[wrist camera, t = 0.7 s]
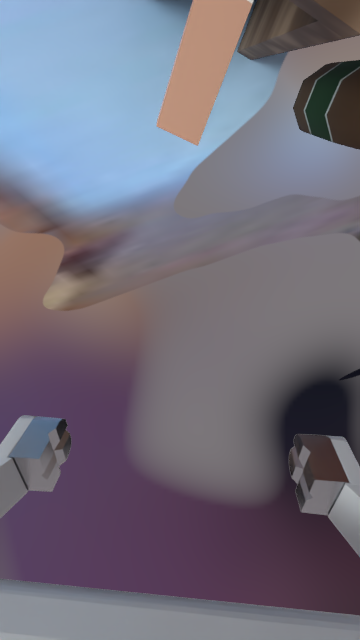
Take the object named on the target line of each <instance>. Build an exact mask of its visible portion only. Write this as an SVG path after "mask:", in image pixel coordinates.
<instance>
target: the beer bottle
mask: <svg viewBox="0 0 360 640" xmlns="http://www.w3.org/2000/svg"><path fill="white" fill-rule="evenodd" d="M293 109H294V112H295V116H296V119H297V122H298V126H299V129H300V130H302V131H304V132H306V133H309V134H312V135H314V136H317V137H320V138H323V139H325V140H328V141H331V142H334V143H337V144H341V145H345V146H348V147H352V148H356V149H360V60H356V61H347V62H337V63H330V64H327V65H325V66H323V67H322V68H320V69H319V70H318V71H317V72H315V73H313V74H312V75H311V76H309V77H308V78H306V79H305V80H304V81H303V83H302V86H301V88H300V91H299V93H298V96H297V99H296V101H295V104H294V107H293Z"/></svg>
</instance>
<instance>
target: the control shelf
mask: <svg viewBox="0 0 360 640" xmlns="http://www.w3.org/2000/svg"><path fill="white" fill-rule="evenodd" d="M359 35H360V0H257V2H256V5H255V7H254V10H253V13H252V15H251V18H250V20H249V23H248V25H247V28H246V30H245V33H244V36H243V38H242V41H241V43H240V46H239V48H238V51H237V52H239V53H240V54H242V55H244V56H245V57H247V58H249V59H250V60H253V59H257V58H262V57H266V56H271V55H275V54H279V53H284V52H288V51H292V50H297V49H301V48H306V47H310V46H315V45H319V44H323V43H328V42H332V41H336V40H341V39H345V38H350V37H354V36H359Z"/></svg>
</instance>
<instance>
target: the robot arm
mask: <svg viewBox="0 0 360 640" xmlns="http://www.w3.org/2000/svg"><path fill="white" fill-rule="evenodd" d="M67 426H68V425H67V422H66V419H59V418H48V417H38V416H25V415H23V416H22V417H20V418H19V419H18V420H17V422H16V423H15V425H14V426H13V428H12V429H11V430H10V432H9V433H8V435H7V436H6V437H5V439H4V440H3V442H2V443H1V445H0V518H1V517H2V516H3V515H4V514H5V513H6V512H7V511H8V510H10V509H11V508H12V507H13V506H14V505H15V504H16V503H17V502H18V501H19V500H20V499H21V498H22V497H23V496H24V495H25V494H26V493H27V492H28V491H27V490H31V491H51V492H52V491H53V489H54V486H55V484H56V482H57V480H58V477H59V475H60V473H61V472H60V468H59V466H60V465H61V464H63V463H64V462H65V461H66V459H67V457H68V455H69V452H70V448H71V436H70V433H69V432H68V431H66V427H67ZM293 441H294V444H295V447H293V448H291V450H290V454H289V467H290V473H291V477H292V478H293V480H294V481H295V482H296V483H297V484H298V485H297V488H296V490H295V492H296V496H297V499H298V503H299V506H300V510H301V512H304V513H313V514H322V515H328V517H329V519H330V520H331V521H332V522H333V524H334V525H335V526H336V528H337V529H338V530H339V531H340V533H341V534H342V535H343V536H344V538H345V539H346V540H347V541H348V543H349V544H350V545H351V546H352V548H353V549H354V550H355V552H356V553H357V554H358V555H359V557H360V467H359V465H358V463H357V461H356V459H355V457H354V455H353V453H352V451H351V449H350V447H349V445H348V443H347V441H346V439H345V438H343V437H337V436H326V435H307V434H297V435H296V436H295V438H294V440H293ZM0 640H360V616H357V615H347V614H338V613H328V612H318V611H308V610H299V609H290V608H280V607H270V606H260V605H250V604H241V603H230V602H221V601H212V600H202V599H192V598H182V597H173V596H162V595H153V594H143V593H134V592H124V591H114V590H104V589H95V588H85V587H75V586H65V585H56V584H46V583H35V582H26V581H16V580H7V579H0Z"/></svg>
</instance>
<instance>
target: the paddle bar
mask: <svg viewBox="0 0 360 640" xmlns="http://www.w3.org/2000/svg"><path fill="white" fill-rule="evenodd" d="M253 1H254V0H193V1H192V5H191V8H190V11H189V15H188V18H187V22H186V25H185V28H184V32H183V35H182V38H181V42H180V45H179V49H178V52H177V55H176V59H175V62H174V65H173V69H172V72H171V76H170V79H169V82H168V86H167V89H166V92H165V96H164V99H163V103H162V106H161V109H160V113H159V116H158V119H157V127H159V128H161V129H163V130H165V131H168V132H170V133H172V134H174V135H176V136H178V137H180V138H182V139H184V140H186V141H189V142H191V143H193V144H195V145H197V146H198V144H199V141H200V138H201V136H202V133H203V131H204V128H205V126H206V123H207V120H208V118H209V115H210V113H211V110H212V107H213V105H214V102H215V100H216V97H217V94H218V92H219V89H220V87H221V84H222V82H223V79H224V76H225V74H226V71H227V69H228V66H229V63H230V61H231V58H232V56H233V53H234V50H235V48H236V45H237V43H238V40H239V37H240V35H241V32H242V30H243V27H244V25H245V22H246V19H247V17H248V14H249V12H250V9H251V6H252V4H253Z"/></svg>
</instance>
